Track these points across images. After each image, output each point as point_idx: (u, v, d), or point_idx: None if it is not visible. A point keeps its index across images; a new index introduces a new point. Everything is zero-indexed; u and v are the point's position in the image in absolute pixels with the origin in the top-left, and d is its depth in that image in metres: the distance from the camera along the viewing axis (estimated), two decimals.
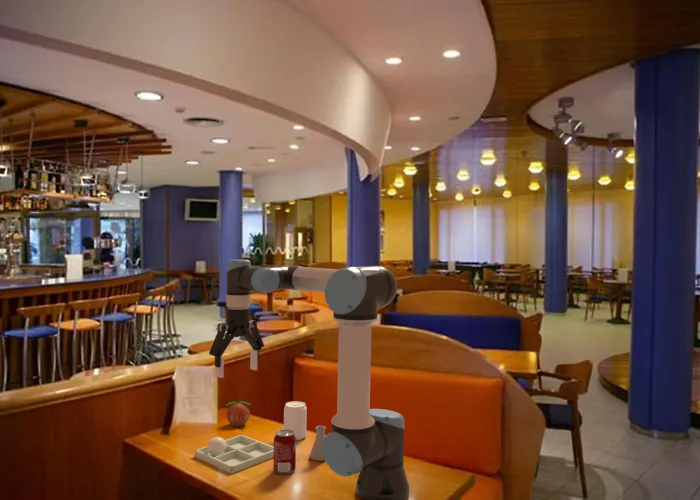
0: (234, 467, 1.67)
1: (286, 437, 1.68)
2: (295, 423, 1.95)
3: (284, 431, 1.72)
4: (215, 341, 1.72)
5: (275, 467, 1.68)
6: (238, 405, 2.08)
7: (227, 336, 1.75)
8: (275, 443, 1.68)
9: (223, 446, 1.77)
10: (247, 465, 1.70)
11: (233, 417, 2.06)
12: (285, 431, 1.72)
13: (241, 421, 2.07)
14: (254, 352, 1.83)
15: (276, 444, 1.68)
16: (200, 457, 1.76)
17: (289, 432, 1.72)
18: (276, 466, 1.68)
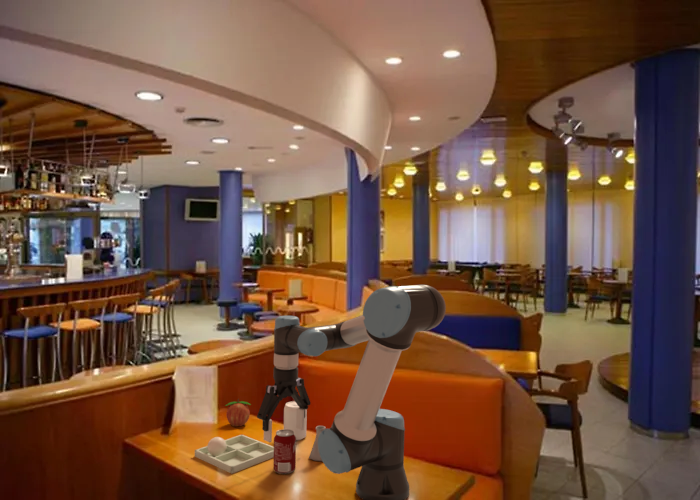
0: (234, 467, 1.67)
1: (286, 437, 1.68)
2: (295, 423, 1.95)
3: (284, 431, 1.72)
4: (263, 403, 1.64)
5: (275, 467, 1.68)
6: (238, 405, 2.08)
7: (275, 397, 1.67)
8: (275, 443, 1.68)
9: (223, 446, 1.77)
10: (247, 465, 1.70)
11: (233, 417, 2.06)
12: (285, 431, 1.72)
13: (241, 421, 2.07)
14: (301, 411, 1.75)
15: (276, 444, 1.68)
16: (200, 457, 1.76)
17: (289, 432, 1.72)
18: (276, 466, 1.68)
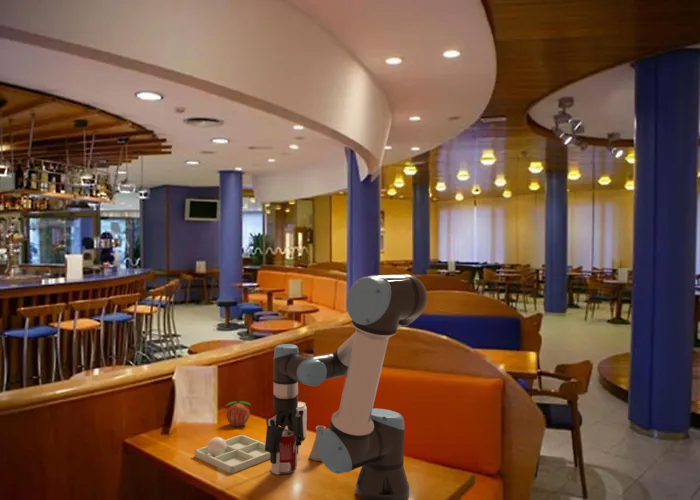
0: (234, 467, 1.67)
1: (286, 437, 1.68)
2: None
3: (284, 431, 1.72)
4: (268, 437, 1.66)
5: None
6: (238, 405, 2.08)
7: (277, 428, 1.68)
8: None
9: (223, 446, 1.77)
10: (247, 465, 1.70)
11: (233, 417, 2.06)
12: (285, 431, 1.72)
13: (241, 421, 2.07)
14: None
15: None
16: (200, 457, 1.76)
17: (289, 432, 1.72)
18: None
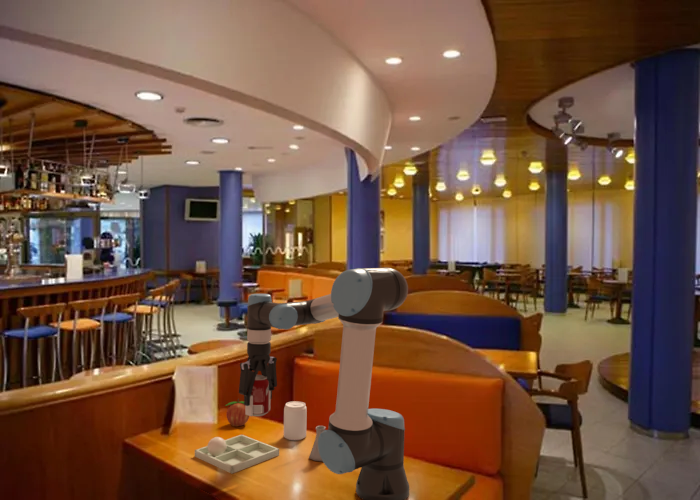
0: (234, 467, 1.67)
1: (259, 381, 1.77)
2: (295, 423, 1.95)
3: (258, 376, 1.81)
4: (241, 380, 1.74)
5: None
6: (238, 405, 2.08)
7: (251, 373, 1.77)
8: None
9: (223, 446, 1.77)
10: (247, 465, 1.70)
11: (233, 417, 2.06)
12: (259, 376, 1.81)
13: (241, 421, 2.07)
14: None
15: None
16: (200, 457, 1.76)
17: (262, 377, 1.80)
18: None
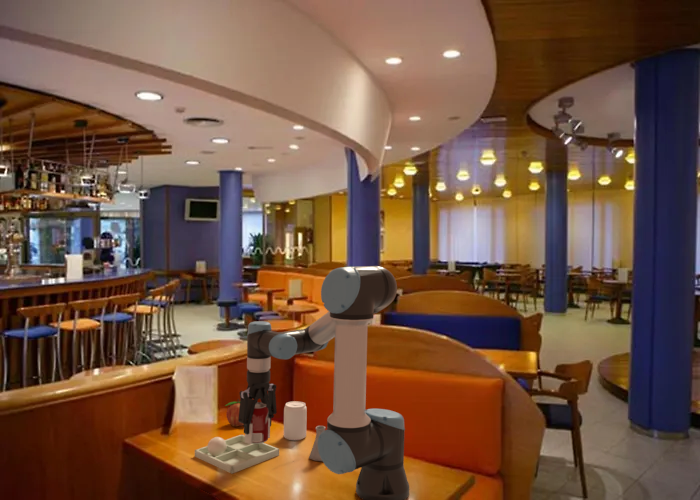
0: (234, 467, 1.67)
1: (258, 409, 1.77)
2: (295, 423, 1.95)
3: (257, 404, 1.81)
4: (241, 408, 1.75)
5: None
6: (238, 405, 2.08)
7: (250, 401, 1.77)
8: None
9: (223, 446, 1.77)
10: (247, 465, 1.70)
11: (232, 417, 2.06)
12: (258, 404, 1.81)
13: None
14: None
15: None
16: (200, 457, 1.76)
17: (262, 405, 1.81)
18: None
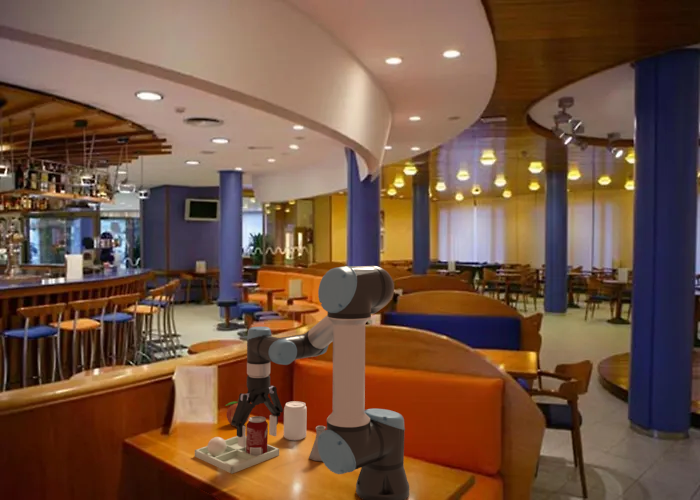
0: (234, 467, 1.67)
1: (258, 423, 1.77)
2: (295, 423, 1.95)
3: (257, 418, 1.81)
4: (237, 410, 1.73)
5: (247, 451, 1.77)
6: None
7: (248, 404, 1.76)
8: (247, 429, 1.77)
9: (223, 446, 1.77)
10: (247, 465, 1.70)
11: None
12: (257, 418, 1.81)
13: None
14: (273, 418, 1.84)
15: (248, 429, 1.77)
16: (200, 457, 1.76)
17: (261, 419, 1.81)
18: (248, 451, 1.77)
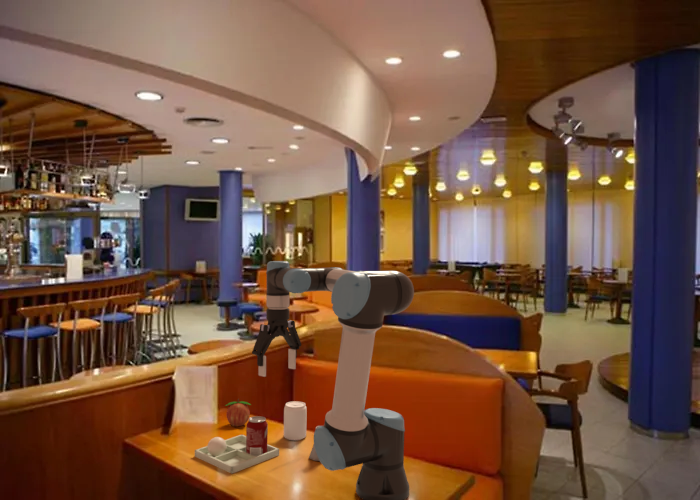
0: (234, 467, 1.67)
1: (258, 423, 1.77)
2: (295, 423, 1.95)
3: (256, 418, 1.81)
4: (258, 340, 1.76)
5: (247, 452, 1.77)
6: (238, 405, 2.08)
7: (268, 336, 1.79)
8: (247, 429, 1.77)
9: (223, 446, 1.77)
10: (247, 465, 1.70)
11: (232, 417, 2.06)
12: (257, 418, 1.81)
13: (241, 421, 2.07)
14: (292, 351, 1.87)
15: (248, 429, 1.77)
16: (200, 457, 1.76)
17: (261, 419, 1.81)
18: (248, 451, 1.77)
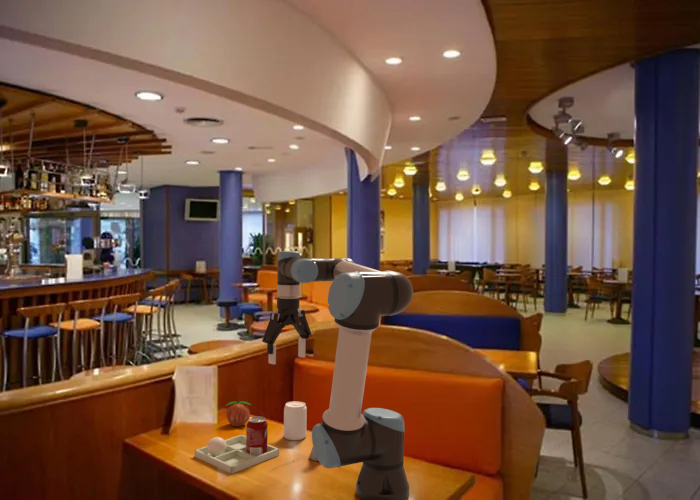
0: (234, 467, 1.67)
1: (258, 423, 1.77)
2: (295, 423, 1.95)
3: (257, 418, 1.81)
4: (268, 328, 1.79)
5: (247, 452, 1.77)
6: (238, 405, 2.08)
7: (278, 324, 1.82)
8: (247, 429, 1.77)
9: (223, 446, 1.77)
10: (247, 465, 1.70)
11: (232, 417, 2.06)
12: (257, 418, 1.81)
13: (241, 421, 2.07)
14: (302, 340, 1.90)
15: (248, 429, 1.77)
16: (200, 457, 1.76)
17: (261, 419, 1.81)
18: (248, 451, 1.77)
